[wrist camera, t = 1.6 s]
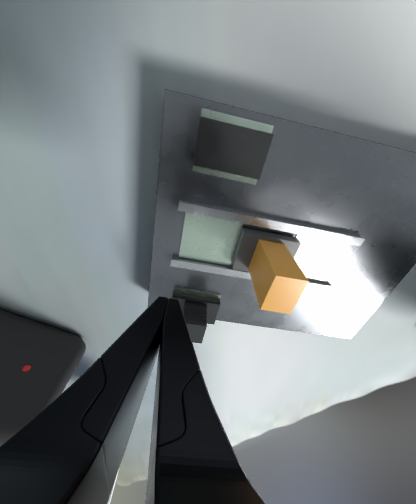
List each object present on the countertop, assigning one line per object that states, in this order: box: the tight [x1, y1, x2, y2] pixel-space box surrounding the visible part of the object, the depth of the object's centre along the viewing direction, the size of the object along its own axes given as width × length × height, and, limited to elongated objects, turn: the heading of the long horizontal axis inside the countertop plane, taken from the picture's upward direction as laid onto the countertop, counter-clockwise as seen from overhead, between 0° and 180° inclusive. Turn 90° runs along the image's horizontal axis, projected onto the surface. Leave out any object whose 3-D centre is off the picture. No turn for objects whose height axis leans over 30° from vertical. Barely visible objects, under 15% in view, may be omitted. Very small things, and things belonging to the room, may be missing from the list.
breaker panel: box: [148, 89, 416, 343], centre depth 15 cm, size 20×16×5 cm
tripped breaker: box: [231, 228, 309, 314], centre depth 13 cm, size 4×3×5 cm
